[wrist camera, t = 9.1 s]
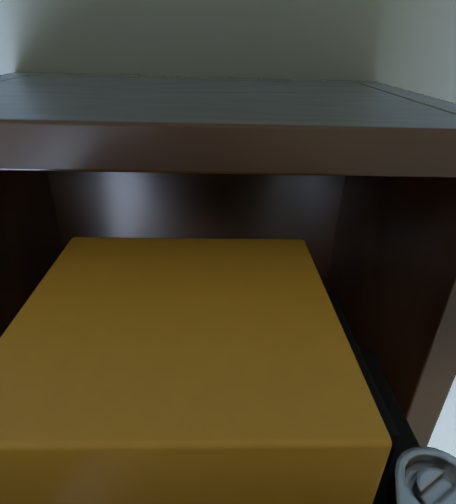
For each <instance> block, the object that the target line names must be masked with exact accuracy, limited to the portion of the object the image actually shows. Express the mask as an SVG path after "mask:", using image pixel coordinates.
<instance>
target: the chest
mask: <svg viewBox="0 0 456 504" xmlns="http://www.w3.org/2000/svg"><path fill="white" fill-rule="evenodd" d="M73 237H128V238H219V239H301V240H304V241H305V244H306V246H307V248H308V251H309V253H310V255H311V257H312V260H313V262H314V264H315V267H316V269H317V271H318V273H319V276H320V278H321V280H322V283H323V285H324V287H325V289H326V292H327V294H333V295H334V296H335V297H336V299H337V301H338V304H339V306H340V308H341V310H342V312H343V314H344V317H345V319H346V321H347V323H348V325H349V327H350V330H351V332H352V334H353V336H354V338H355V340H356V343H357V345H358V347H363V348H369V349H371V351H372V352H373V354H374V355H375V357H376V359H377V361H378V363H379V365H380V367H381V369H382V371H383V373H384V375H385V377H386V379H387V381H388V383H389V385H390V387H391V389H392V391H393V393H394V395H395V397H396V399H397V401H398V403H399V405H400V407H401V409H402V411H403V413H404V415H405V417H406V419H407V421H408V423H409V425H410V427H411V429H412V431H413V433H414V435H415V437H416V439H417V441H418V443H419V445H420V446H424V447H427V445H428V442H429V440H430V437H431V435H432V432H433V430H434V427H435V425H436V422H437V420H438V417H439V415H440V412H441V410H442V407H443V405H444V403H445V400H446V398H447V395H448V393H449V390H450V388H451V385H452V383H453V380H454V378H455V375H456V104H454V103H450V102H447V101H443V100H440V99H436V98H432V97H429V96H425V95H422V94H418V93H414V92H411V91H407V90H404V89H400V88H396V87H393V86H389V85H386V84H382V83H378V82H367V81H327V80H288V79H248V78H209V77H169V76H130V75H90V74H51V73H9V74H4V75H0V337H1V336H2V335H3V333H4V332H5V330H6V329H7V328H8V326H9V325H10V323H11V322H12V321H13V319H14V318H15V316H16V315H17V314H18V312H19V311H20V310H21V308H22V307H23V305H24V304H25V303H26V301H27V300H28V298H29V297H30V296H31V294H32V293H33V292H34V290H35V289H36V287H37V286H38V285H39V283H40V282H41V280H42V279H43V278H44V276H45V275H46V273H47V272H48V271H49V269H50V268H51V267H52V265H53V264H54V262H55V261H56V260H57V258H58V257H59V255H60V254H61V253H62V251H63V250H64V249H65V247H66V246H67V244H68V243H69V242H70V240H71V239H72V238H73Z"/></svg>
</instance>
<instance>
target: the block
mask: <svg viewBox="0 0 456 504" xmlns="http://www.w3.org/2000/svg"><path fill="white" fill-rule="evenodd" d="M391 447H392V441H391V438H390V436H389V433H388V431H387V429H386V426H385V424H384V422H383V420H382V417H381V415H380V413H379V410H378V408H377V406H376V404H375V401H374V399H373V397H372V394H371V392H370V390H369V388H368V385H367V383H366V381H365V378H364V376H363V374H362V372H361V369H360V367H359V365H358V363H357V360H356V358H355V356H354V353H353V351H352V349H351V347H350V344H349V342H348V340H347V337H346V335H345V333H344V331H343V328H342V326H341V324H340V321H339V319H338V317H337V315H336V312H335V310H334V308H333V305H332V303H331V301H330V299H329V296H328V294H327V292H326V289H325V287H324V285H323V283H322V280H321V278H320V276H319V273H318V271H317V269H316V267H315V264H314V262H313V260H312V257H311V255H310V253H309V251H308V248H307V246H306V244H305V241H304V240H301V239H219V238H128V237H73V238H72V239H71V240H70V242H69V243H68V244H67V246H66V247H65V249H64V250H63V251H62V253H61V254H60V255H59V257H58V258H57V260H56V261H55V262H54V264H53V265H52V267H51V268H50V269H49V271H48V272H47V273H46V275H45V276H44V278H43V279H42V280H41V282H40V283H39V285H38V286H37V287H36V289H35V290H34V292H33V293H32V294H31V296H30V297H29V298H28V300H27V301H26V303H25V304H24V305H23V307H22V308H21V310H20V311H19V312H18V314H17V315H16V316H15V318H14V319H13V321H12V322H11V323H10V325H9V326H8V328H7V329H6V330H5V332H4V333H3V335H2V336H1V337H0V504H373V501H374V498H375V495H376V492H377V489H378V486H379V483H380V480H381V477H382V474H383V471H384V468H385V465H386V462H387V459H388V456H389V453H390V450H391Z"/></svg>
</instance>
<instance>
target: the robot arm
mask: <svg viewBox="0 0 456 504" xmlns="http://www.w3.org/2000/svg"><path fill="white" fill-rule="evenodd" d="M328 296H329V299H330V301H331V303H332V305H333V308H334V310H335V312H336V315H337V317H338V319H339V321H340V324H341V326H342V328H343V331H344V333H345V335H346V337H347V340H348V342H349V344H350V347H351V349H352V351H353V353H354V356H355V358H356V360H357V363H358V365H359V367H360V369H361V372H362V374H363V376H364V378H365V381H366V383H367V385H368V388H369V390H370V392H371V394H372V397H373V399H374V401H375V404H376V406H377V408H378V410H379V413H380V415H381V417H382V420H383V422H384V424H385V426H386V429H387V431H388V433H389V436H390V438H391V441H392V447H391V450H390V453H389V456H388V459H387V462H386V465H385V468H384V471H383V474H382V477H381V480H380V483H379V486H378V489H377V492H376V495H375V498H374V501H373V504H456V458H455V457H454V456H452V455H450V454H449V453H446V452H444V451H441V450H439V449H436V448H431V447H424V446H420V445H419V443H418V441H417V439H416V437H415V435H414V433H413V431H412V429H411V427H410V425H409V423H408V421H407V419H406V417H405V415H404V413H403V411H402V409H401V407H400V405H399V403H398V401H397V399H396V397H395V395H394V393H393V391H392V389H391V387H390V385H389V383H388V381H387V379H386V377H385V375H384V373H383V371H382V369H381V367H380V365H379V363H378V361H377V359H376V357H375V355H374V354H373V352H372V351H371V349H369V348H363V347H358V345H357V343H356V340H355V338H354V336H353V334H352V332H351V330H350V327H349V325H348V323H347V321H346V319H345V317H344V314H343V312H342V310H341V308H340V306H339V304H338V301H337V299H336V297H335V296H334V295H333V294H328Z"/></svg>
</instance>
